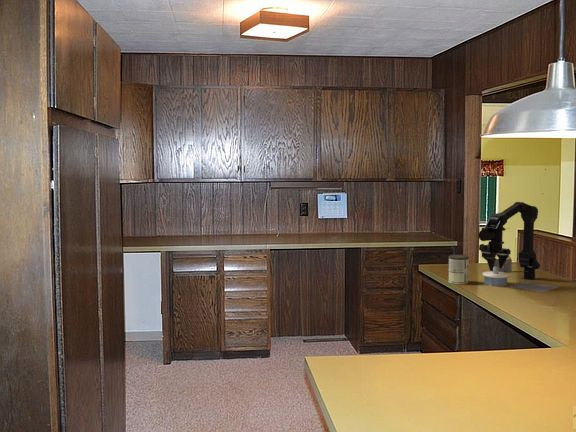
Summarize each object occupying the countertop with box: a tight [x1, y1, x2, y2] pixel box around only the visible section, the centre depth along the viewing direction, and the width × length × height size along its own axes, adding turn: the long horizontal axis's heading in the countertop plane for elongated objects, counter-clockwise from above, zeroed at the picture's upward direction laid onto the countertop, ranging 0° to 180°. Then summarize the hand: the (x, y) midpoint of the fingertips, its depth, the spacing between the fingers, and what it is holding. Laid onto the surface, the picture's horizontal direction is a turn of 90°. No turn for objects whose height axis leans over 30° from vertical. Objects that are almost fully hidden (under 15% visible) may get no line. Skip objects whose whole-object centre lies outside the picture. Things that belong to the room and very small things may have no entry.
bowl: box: [483, 276, 508, 287], centre depth 307 cm, size 11×11×5 cm
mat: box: [508, 281, 560, 293], centre depth 299 cm, size 18×18×1 cm
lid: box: [482, 267, 510, 279], centre depth 306 cm, size 13×13×4 cm
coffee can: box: [448, 254, 470, 285], centre depth 314 cm, size 10×10×14 cm
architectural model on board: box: [492, 254, 513, 273], centre depth 342 cm, size 11×3×10 cm, turn 91°
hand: (495, 269), depth 306 cm, fingers open, 9 cm apart
